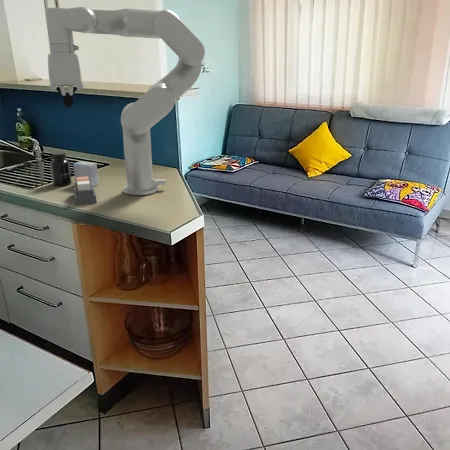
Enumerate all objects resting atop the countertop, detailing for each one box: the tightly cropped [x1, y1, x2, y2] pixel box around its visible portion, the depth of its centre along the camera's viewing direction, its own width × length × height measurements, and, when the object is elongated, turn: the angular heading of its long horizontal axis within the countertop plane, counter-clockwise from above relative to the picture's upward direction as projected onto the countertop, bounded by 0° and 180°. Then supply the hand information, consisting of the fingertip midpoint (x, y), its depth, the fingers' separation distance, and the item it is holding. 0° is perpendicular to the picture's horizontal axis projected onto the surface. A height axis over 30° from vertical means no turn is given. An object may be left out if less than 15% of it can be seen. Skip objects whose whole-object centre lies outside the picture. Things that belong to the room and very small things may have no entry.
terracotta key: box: [76, 176, 89, 181], centre depth 166 cm, size 4×4×3 cm
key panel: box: [72, 182, 98, 206], centre depth 165 cm, size 7×12×4 cm, turn 19°
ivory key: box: [77, 180, 91, 191], centre depth 161 cm, size 4×4×3 cm
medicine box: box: [73, 161, 100, 188], centre depth 180 cm, size 8×4×9 cm, turn 66°
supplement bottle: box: [50, 151, 72, 187], centre depth 181 cm, size 7×7×12 cm
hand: (68, 107), depth 160 cm, fingers closed
